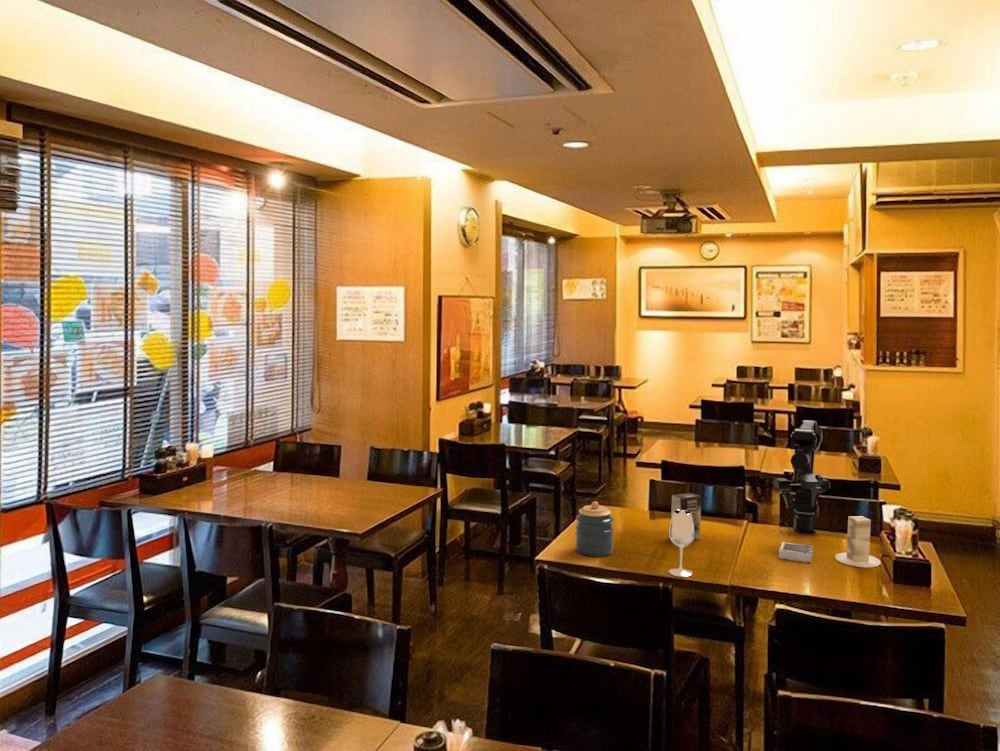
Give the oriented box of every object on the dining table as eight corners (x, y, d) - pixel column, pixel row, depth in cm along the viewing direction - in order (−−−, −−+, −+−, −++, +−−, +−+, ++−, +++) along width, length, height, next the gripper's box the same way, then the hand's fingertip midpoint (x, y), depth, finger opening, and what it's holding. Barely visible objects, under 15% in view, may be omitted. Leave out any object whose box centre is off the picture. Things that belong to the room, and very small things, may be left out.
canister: (620, 551, 277) (621, 501, 275) (598, 559, 268) (599, 508, 266) (590, 543, 286) (591, 495, 284) (567, 551, 276) (568, 501, 275)
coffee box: (681, 542, 287) (682, 498, 286) (669, 537, 293) (670, 494, 292) (700, 539, 292) (702, 495, 290) (689, 534, 297) (690, 491, 296)
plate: (867, 553, 275) (867, 552, 275) (888, 567, 261) (888, 565, 261) (827, 554, 275) (827, 552, 275) (847, 567, 261) (847, 566, 261)
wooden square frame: (782, 550, 279) (782, 542, 278) (812, 554, 274) (812, 545, 274) (778, 558, 270) (779, 550, 269) (810, 563, 265) (810, 554, 265)
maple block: (846, 556, 270) (848, 516, 269) (860, 556, 271) (862, 516, 269) (854, 561, 265) (856, 520, 264) (868, 561, 266) (870, 520, 264)
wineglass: (666, 575, 253) (667, 513, 251) (670, 567, 260) (672, 507, 258) (691, 578, 250) (692, 516, 248) (694, 570, 257) (696, 510, 255)
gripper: (786, 469, 277) (784, 513, 279) (838, 468, 278) (836, 512, 279) (773, 462, 288) (771, 505, 290) (824, 462, 289) (822, 504, 291)
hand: (800, 506), depth 287 cm, fingers open, 9 cm apart
